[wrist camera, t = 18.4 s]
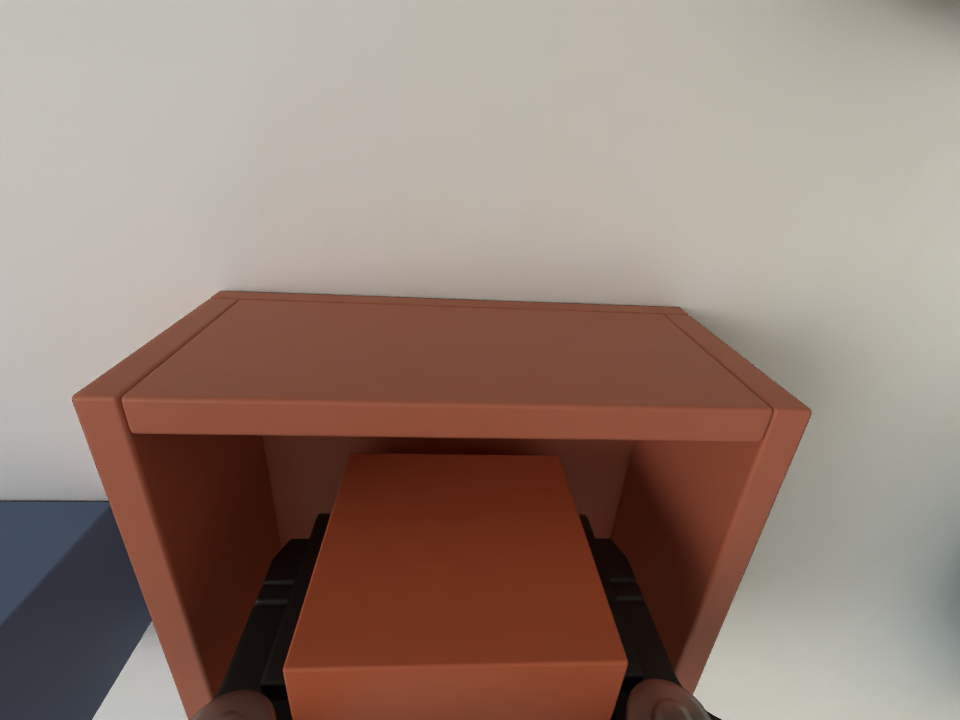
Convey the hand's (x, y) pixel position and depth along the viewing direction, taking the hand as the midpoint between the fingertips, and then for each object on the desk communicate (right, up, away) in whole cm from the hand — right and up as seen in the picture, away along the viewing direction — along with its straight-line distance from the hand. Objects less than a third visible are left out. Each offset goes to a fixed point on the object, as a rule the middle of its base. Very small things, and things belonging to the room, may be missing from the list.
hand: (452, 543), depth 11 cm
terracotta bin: (0, +1, +2) cm, 2 cm away
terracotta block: (0, 0, 0) cm, 0 cm away
